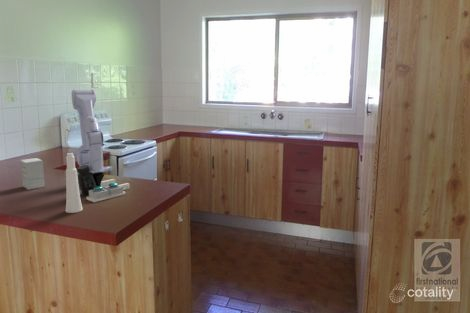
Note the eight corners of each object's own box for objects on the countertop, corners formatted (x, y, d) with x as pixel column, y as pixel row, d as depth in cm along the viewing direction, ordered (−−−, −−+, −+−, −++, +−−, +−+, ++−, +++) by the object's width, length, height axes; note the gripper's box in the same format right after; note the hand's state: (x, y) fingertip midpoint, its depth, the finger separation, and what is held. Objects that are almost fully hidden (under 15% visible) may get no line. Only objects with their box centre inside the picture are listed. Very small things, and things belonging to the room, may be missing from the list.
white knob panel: (71, 193, 163) (70, 185, 162) (113, 183, 179) (113, 176, 178) (94, 202, 151) (93, 194, 151) (137, 191, 167) (136, 183, 167)
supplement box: (39, 183, 177) (37, 157, 175) (45, 186, 172) (42, 160, 169) (22, 186, 172) (19, 159, 170) (27, 190, 167) (24, 162, 164)
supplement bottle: (100, 188, 166) (93, 163, 161) (94, 195, 159) (88, 169, 155) (84, 189, 166) (78, 164, 161) (79, 196, 159) (71, 171, 155)
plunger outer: (92, 195, 156) (92, 187, 155) (100, 193, 158) (99, 185, 158) (97, 197, 153) (96, 188, 153) (105, 195, 156) (104, 187, 155)
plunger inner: (107, 192, 161) (107, 183, 160) (114, 190, 164) (114, 182, 163) (112, 193, 159) (111, 185, 158) (119, 191, 161) (119, 183, 161)
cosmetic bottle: (77, 206, 146) (73, 151, 142) (85, 210, 142) (82, 153, 138) (62, 210, 141) (57, 153, 137) (70, 214, 138) (65, 155, 133)
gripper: (85, 163, 154) (87, 194, 157) (115, 157, 165) (117, 187, 168) (76, 160, 159) (78, 191, 161) (106, 155, 170) (108, 184, 172)
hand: (97, 189), depth 165 cm, fingers closed, pressing on supplement bottle
